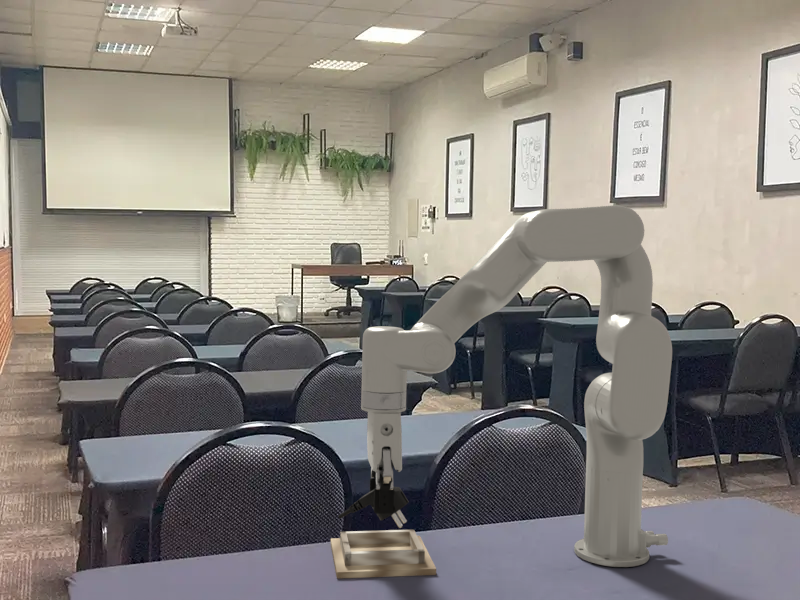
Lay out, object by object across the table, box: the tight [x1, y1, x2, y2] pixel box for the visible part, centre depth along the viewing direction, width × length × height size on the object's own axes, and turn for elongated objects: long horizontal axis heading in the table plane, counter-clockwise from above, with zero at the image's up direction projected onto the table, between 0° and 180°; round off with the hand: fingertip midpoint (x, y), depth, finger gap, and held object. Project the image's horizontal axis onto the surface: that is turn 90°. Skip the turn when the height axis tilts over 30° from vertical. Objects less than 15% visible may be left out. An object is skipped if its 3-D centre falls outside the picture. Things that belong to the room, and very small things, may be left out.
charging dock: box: [330, 529, 437, 579], centre depth 143 cm, size 16×16×3 cm
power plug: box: [337, 485, 410, 529], centre depth 143 cm, size 6×8×12 cm
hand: (381, 506), depth 143 cm, fingers closed on power plug, 5 cm apart
